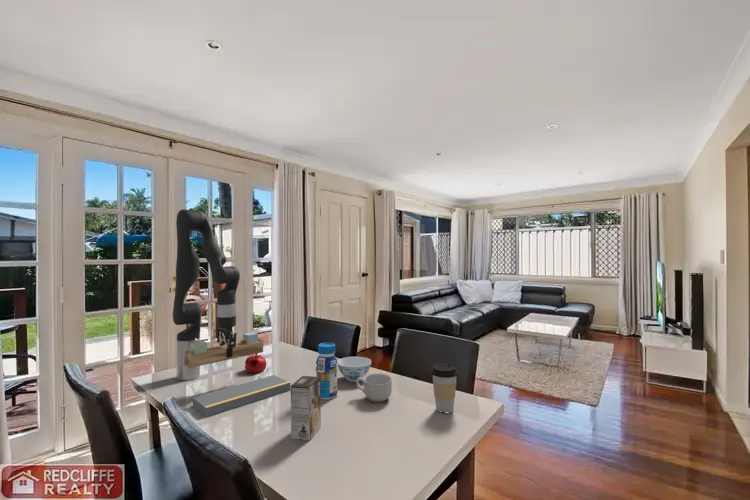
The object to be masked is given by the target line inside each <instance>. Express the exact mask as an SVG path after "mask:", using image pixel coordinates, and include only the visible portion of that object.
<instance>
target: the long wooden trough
mask: <svg viewBox="0 0 750 500" xmlns="http://www.w3.org/2000/svg"><path fill="white" fill-rule="evenodd" d="M257 353H258V354H262V353H264V339H263V338H260V337H258V342H256V343H251V344H249V342H248V341H245V340H243V339H240V341H239V342H236V347H233V356H232V357H230V358H227V347H226V344H225V345H223V346H220V345H219V346H218V345H217V346H213V347H207V352H205V353H199V354H193V353H192V352H190V351H188V350H184V365H188V367H189V368H193V367H197V366H200V367H202V366H205V365H206V366H207V365H210V364H211V365H212V364H214V363H221V362H224V361H229V360H233V359H237V358H238V359H239V358H241V357H242V358H243V357H249V356H250V355H251V356H253V355H252V354H254V355H255V354H257ZM258 354H257V355H258Z"/></svg>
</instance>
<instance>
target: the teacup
mask: <svg viewBox="0 0 750 500" xmlns="http://www.w3.org/2000/svg"><path fill="white" fill-rule="evenodd" d="M359 380H360V381H362V384H363V386H362V385H360V381H359ZM392 382H393V378H392V377H391V376H390V375H389V374H386V373H370V374H368V375H367V374H366V375H365V376H364V377H359V378H358V379H357V380H356V382H355V384H356V387H357V388H358V389H359V390H361V391H362V392H363V394H364V395H365V397H366V398H367V399H368V400H369V401H371V402H373V403H383V402H385V401H387V399H389V398H390V397H391V395H392V386H393V385H392Z"/></svg>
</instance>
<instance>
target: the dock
mask: <svg viewBox="0 0 750 500" xmlns="http://www.w3.org/2000/svg"><path fill="white" fill-rule="evenodd" d="M288 391H291V381H287V380H286V379H283V378H281V377H279V376H278V375H275V374H273V375H270V376H266V377H261V378H258V379H255V380H251V381H247V382H244V383H240V384H237V385H232V386H230V387H225V388H221V389H218V390H215V391H212V392H208V393H205V394H200V395H196V396H193V397H192V407H194V408H195V409H196V410H197V411H198V412H200V413H201V414H202V416H204V417H205V418H207V417H211V416H213V415H214V416H215V415H216V414H219V413H222V412H227V411H229V410H233V409H236V408H239V407H242V406H245V405H248V404H251V403H255V402H258V401H261V400H264V399H267V398H270V397H273V396H275V395H276V396H277V395H281V394H282V393H285V392H288Z"/></svg>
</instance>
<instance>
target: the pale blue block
mask: <svg viewBox="0 0 750 500" xmlns="http://www.w3.org/2000/svg"><path fill="white" fill-rule="evenodd" d="M258 338H259V333H257V332H254V331H252V332H245V333H242V340H245V341H248V342H249V344H251V343H256V342H258Z"/></svg>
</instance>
